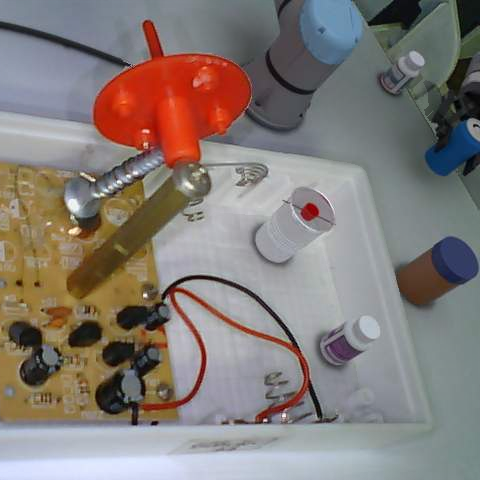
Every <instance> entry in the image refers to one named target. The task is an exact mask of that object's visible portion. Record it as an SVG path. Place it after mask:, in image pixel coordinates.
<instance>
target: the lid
mask: <svg viewBox="0 0 480 480" xmlns="http://www.w3.org/2000/svg"><path fill="white" fill-rule="evenodd" d="M432 247H433V248H432ZM432 247H431V248H432V252H431V255H432V260H433V263H434V266H435V267H436V269H437V271H438V272H439V273H440V274H441V276H442V277H444V278H445V279H446V280H447V281H449V282H451V283H453V284H456V285H460V286H461V285H462V286H463V285H465V284H467V283H468V282H470V281H472V280H473V279H475V278H476V277H477V276H478V274H479V270H480V266H479V260H478V258H477V256H476V254H475V252H474V251H473V249H472V247H470V245H468V244H467V243H466V242H465V241H464V240H462V239H461V238H459V237H456V236H452V235H448V236H446V237H444V238H442V239H441V240H439V241H438V242H437V243H435V244H433V246H432Z"/></svg>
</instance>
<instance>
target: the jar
mask: <svg viewBox="0 0 480 480" xmlns="http://www.w3.org/2000/svg"><path fill="white" fill-rule="evenodd" d="M432 248H433V246H432V247H431V248H429V249H427V250H426V251H425V252H423V253H422V254H420V255H419V256H417V257H416V258H414V259H412V260H411V261H410V262H408V263H407V264H405V265H403V266H402V267H401V268H400V269H399V270H398V272H397V274H396V281H397V282H396V283H397V286H398V289H399V290H400V292H401V294H402V295H403V297H405V298H406V299H407V301H409V302H410V303H411V304H413V305H416V306H417V307H418V306H419V307H425V306H428V305H430V304H431V303H433V302H435V301H436V300H438V299H440V298H441V297H443V296H445V295H446V294H448V293H450V292H451V291H453V290H455V289H457V288H458V287H460V286H461V285H456V284H453V283H451V282H449V281H447V280H446V279H445V278H444V277H442V276H441V274H440V273H439V272H438V271H437V269H436V267H435V266H434V263H433V260H432V255H431V252H432Z"/></svg>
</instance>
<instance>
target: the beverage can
mask: <svg viewBox="0 0 480 480" xmlns="http://www.w3.org/2000/svg"><path fill="white" fill-rule="evenodd" d="M436 144H437V142H435V143H434V144H432V146H430V147H429V148H427V149H426V150H425V152H424V163H425V165H426V167H427V168H428V170H429V171H430V172H431V173H433V174H435V175H436V176H440V177H447V176H449V175H450V174H452V173H453V172H454V171H456V170H457V169H458V168H460V167H462V165H464V164H466V161H467V160H469V159H470V158H471V157H473V156H474V155H475V154H477V153H478V152H479V151H480V121H479V120H477V119H474V118H470V119H468V120H465V121H462V122H461V121H460V123H459V124H457V125H456V126H454V127H453V130H452V133H451V135H450V138H449V140H448V143H447V146H445V147H444V148H443V149H442V150H440V151H439V152H438V153H435V152H434V149H435V146H436Z"/></svg>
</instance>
